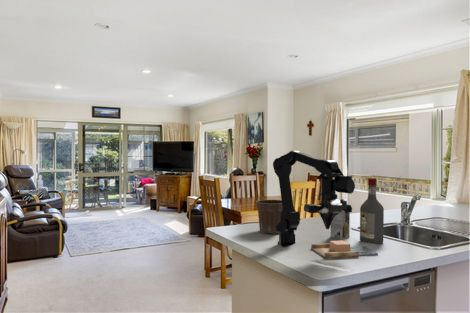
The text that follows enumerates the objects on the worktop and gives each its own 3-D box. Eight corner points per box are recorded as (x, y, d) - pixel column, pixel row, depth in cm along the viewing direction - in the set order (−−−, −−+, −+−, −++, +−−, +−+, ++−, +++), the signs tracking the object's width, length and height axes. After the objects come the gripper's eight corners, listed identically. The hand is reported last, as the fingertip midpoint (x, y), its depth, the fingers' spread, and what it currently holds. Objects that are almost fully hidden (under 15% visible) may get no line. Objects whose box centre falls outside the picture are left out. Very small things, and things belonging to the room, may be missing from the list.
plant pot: (249, 231, 185) (249, 201, 185) (268, 227, 197) (269, 198, 197) (273, 237, 174) (273, 204, 174) (292, 232, 185) (292, 201, 185)
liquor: (372, 239, 171) (372, 177, 170) (386, 243, 162) (387, 179, 162) (357, 240, 167) (357, 178, 167) (370, 245, 159) (371, 179, 159)
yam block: (336, 253, 140) (336, 244, 140) (329, 249, 146) (329, 240, 146) (350, 252, 141) (350, 244, 141) (343, 248, 147) (343, 240, 147)
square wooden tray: (325, 261, 135) (325, 253, 135) (311, 251, 149) (311, 244, 149) (358, 259, 138) (358, 251, 138) (341, 249, 152) (342, 242, 151)
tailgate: (355, 257, 139) (355, 254, 139) (342, 249, 150) (342, 247, 150) (377, 255, 141) (377, 253, 141) (363, 248, 152) (363, 245, 152)
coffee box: (337, 235, 178) (337, 203, 178) (349, 237, 174) (350, 205, 174) (329, 238, 171) (330, 205, 171) (342, 240, 167) (343, 207, 167)
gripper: (315, 193, 133) (314, 234, 133) (360, 193, 137) (359, 233, 137) (303, 190, 144) (302, 228, 144) (345, 190, 148) (344, 226, 148)
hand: (327, 229), depth 143 cm, fingers closed
